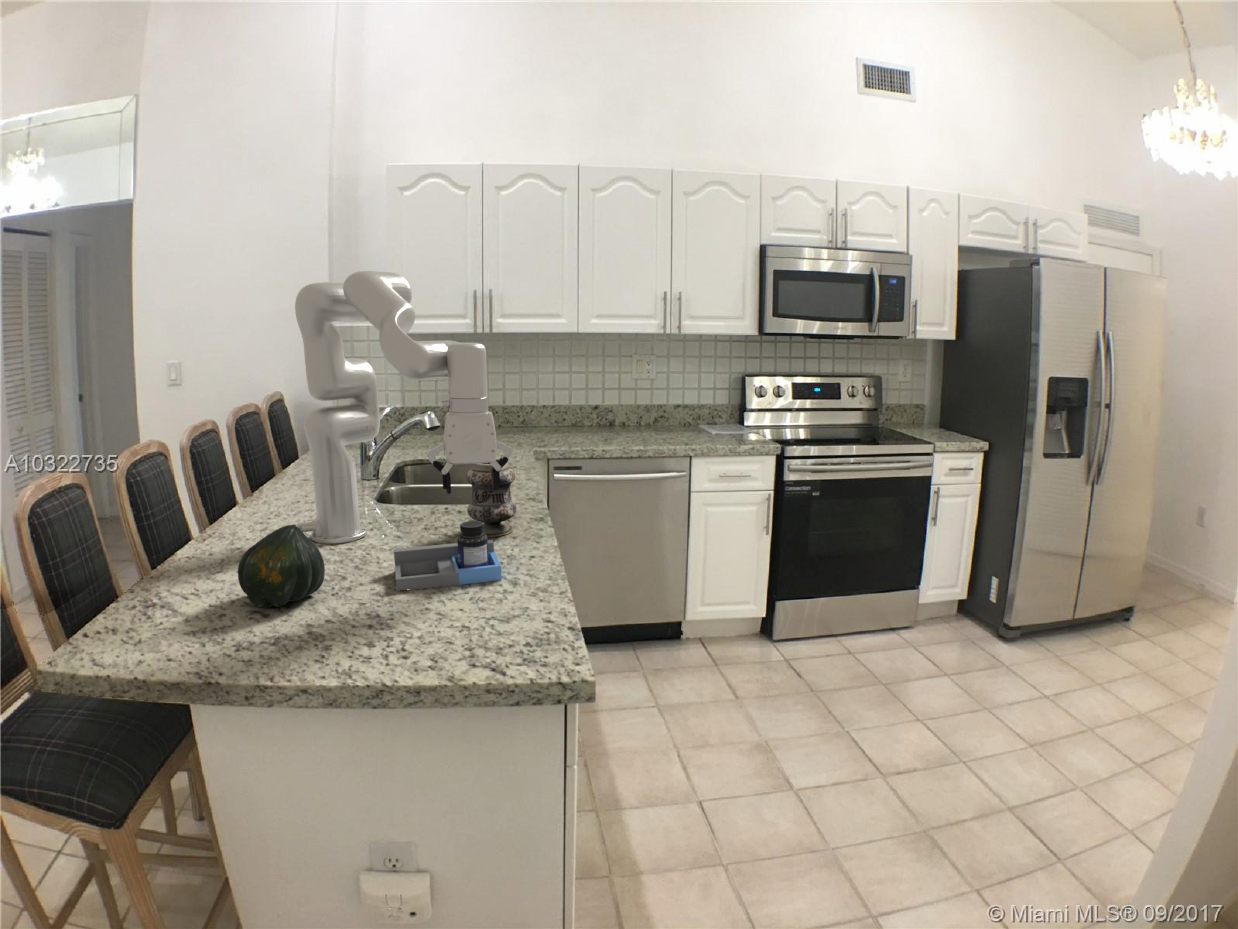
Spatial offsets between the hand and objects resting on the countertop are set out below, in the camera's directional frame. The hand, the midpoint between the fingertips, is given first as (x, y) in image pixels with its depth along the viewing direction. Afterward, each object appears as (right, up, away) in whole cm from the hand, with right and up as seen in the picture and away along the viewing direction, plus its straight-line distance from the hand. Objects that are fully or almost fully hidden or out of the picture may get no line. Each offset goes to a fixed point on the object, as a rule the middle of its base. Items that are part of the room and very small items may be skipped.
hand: (471, 490), depth 144 cm
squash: (-34, -21, -9) cm, 40 cm away
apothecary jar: (-2, -12, +33) cm, 35 cm away
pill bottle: (0, -18, +4) cm, 18 cm away
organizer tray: (-5, -18, +2) cm, 19 cm away
